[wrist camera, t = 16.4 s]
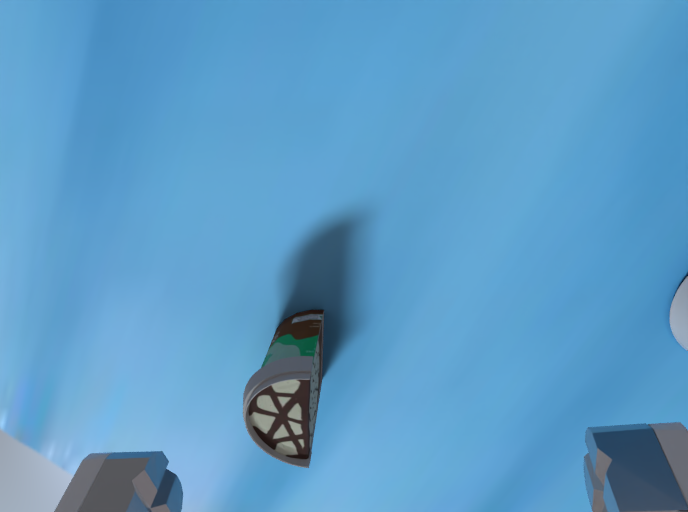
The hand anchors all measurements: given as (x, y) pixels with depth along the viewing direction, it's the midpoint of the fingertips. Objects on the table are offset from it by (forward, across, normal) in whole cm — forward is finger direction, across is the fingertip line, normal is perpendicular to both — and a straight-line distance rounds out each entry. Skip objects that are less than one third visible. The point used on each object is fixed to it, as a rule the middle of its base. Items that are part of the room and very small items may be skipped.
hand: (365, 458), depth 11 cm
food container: (+34, +14, +27) cm, 46 cm away
